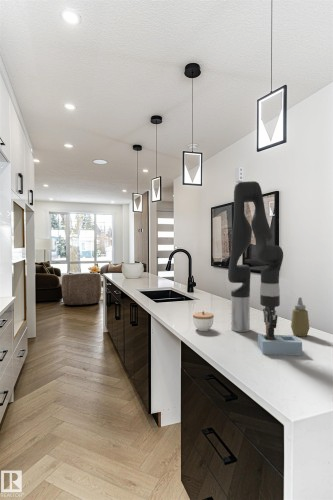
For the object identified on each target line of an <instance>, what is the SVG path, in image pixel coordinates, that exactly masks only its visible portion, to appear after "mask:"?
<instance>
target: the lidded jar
mask: <svg viewBox="0 0 333 500" xmlns="http://www.w3.org/2000/svg"><path fill="white" fill-rule="evenodd" d="M214 318H215V317H214V314H213V313H211V312H205V311H203V310H201V311H200V312H195V313H193V314H192V321H193V325H194V327H195V329H197V331H200V332H207V331H209V330H210V329H211V328H212V327H213V325H214Z"/></svg>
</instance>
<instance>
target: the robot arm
mask: <svg viewBox="0 0 333 500" xmlns="http://www.w3.org/2000/svg"><path fill="white" fill-rule="evenodd" d="M233 189H234V190H233V220H232V221H233V222H232V230H231V243H230V246H231V248H230V257H229V264H228V270H227V279H228V281H229V283H232V284H241V285H240V286H238V287H237V288H233V289H232V290H231V291H230V300H231V303H230V306H231V307H230V309H231V310H230V311H231V312H230V315H231V316H230V318H231V321H230V329H231V330H232V331H235V332H239V333H248V332H249V331H250V330H251V327H250V326H251V322H250V321H251V319H250V318H251V317H250V316H251V310H250V309H251V303H250V301H251V300H250V299H251V298H250V297H251V295H250V293H251V273H252V272H251V268H250V266H249V265H248V264H238V262H239V260H240V258H241V257H242V255H243V254H244V253H245V251H246V250H247V249H248V247H249V246H250V244H252V243H251V242H252V234H253V236H254V239H255V257H256V259H257V260H258V261H259V262H261V263H267V264H268V266H267V267H265V268H263V269H261V271H260V288H259V289H260V290H259V291H260V292H259V295H260V297H259V299H260V300H259V301H260V302H259V303H260V306H262V307H264V308H262V311H263V322H264V325H265V326H266V321H267V322H268V337H270V338H273V337H274V335H275V329H276V328H277V323H278V315H277V310H276V309H275V308H276V307H277V308H278V307H279V306H280V305H281V304H280V303H281V300H280V298H281V294H280V293H281V292H280V291H281V290H280V271H281V267H282V264H283V260H284V252H283V248H282V247H281V246H280V245H277V244H275V245H274V244H273V245H270V244H269V245H268V242H271V241H272V239H273V232H272V230H271V226H270V224H269V221H268V217H267V215H266V214H267V213H266V208H265V202H264V196H263V191H262V188H261V185H260V183H259V182H257V181H254V180H253V181H249V180H248V181H238V182H236V184H235V185H234V188H233ZM245 203H253V205H254V212H253V216H252V217H251V224H250V221H249V219H248V218H247V216H246V214H245V210H244V208H245V207H244V204H245ZM268 319H270V320H268ZM271 324H273V325H271Z"/></svg>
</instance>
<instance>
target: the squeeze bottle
mask: <svg viewBox="0 0 333 500" xmlns="http://www.w3.org/2000/svg"><path fill="white" fill-rule="evenodd" d="M290 328H291V332H292V333H293V335H294V336H295V337H302V338H303V337H307V336H308V335H309V334H308V333H309V331H310V320H309V311H308V310H307V309H306V305H305V304H304V303H303V298H302V297H298V299H297V303H296V304H294V309H292V314H291V323H290Z"/></svg>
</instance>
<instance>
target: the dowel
mask: <svg viewBox="0 0 333 500" xmlns="http://www.w3.org/2000/svg"><path fill="white" fill-rule="evenodd" d="M268 320H270V319H268ZM271 325H273V324H271ZM265 335H266V340H274V337H273V338H270V337H268V322H267V321H266V325H265Z"/></svg>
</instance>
